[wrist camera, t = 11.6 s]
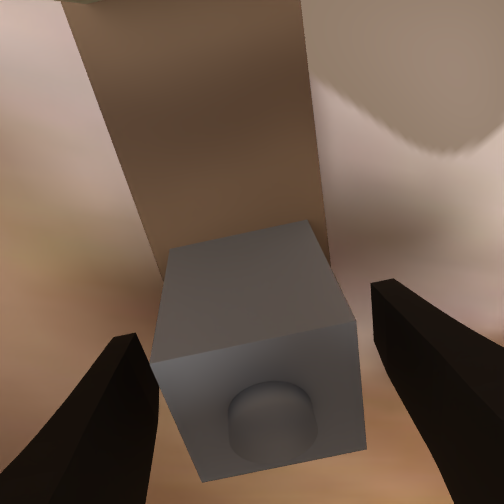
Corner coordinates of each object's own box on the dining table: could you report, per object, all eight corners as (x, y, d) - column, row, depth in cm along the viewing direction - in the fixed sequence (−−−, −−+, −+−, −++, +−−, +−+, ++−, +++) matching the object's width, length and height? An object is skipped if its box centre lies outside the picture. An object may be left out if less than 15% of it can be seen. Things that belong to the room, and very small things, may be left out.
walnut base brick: (323, 305, 16) (340, 348, 14) (200, 331, 16) (199, 378, 14) (241, -307, 8) (252, -420, 6) (4, -250, 8) (-66, -342, 6)
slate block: (322, 326, 14) (375, 473, 9) (204, 350, 14) (201, 508, 9) (307, 219, 12) (366, 342, 7) (169, 248, 12) (144, 388, 7)
